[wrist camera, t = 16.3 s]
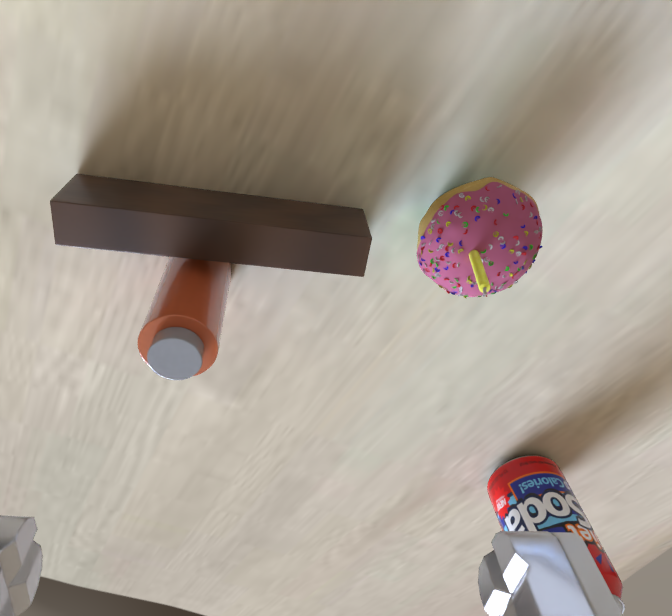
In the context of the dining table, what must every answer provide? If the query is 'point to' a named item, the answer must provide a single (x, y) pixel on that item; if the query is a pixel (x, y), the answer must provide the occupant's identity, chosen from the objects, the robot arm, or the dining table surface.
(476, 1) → the dining table surface
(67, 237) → the wall
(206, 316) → the capped bottle
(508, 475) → the soda can
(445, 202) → the cupcake
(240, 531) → the dining table surface
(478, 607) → the dining table surface
